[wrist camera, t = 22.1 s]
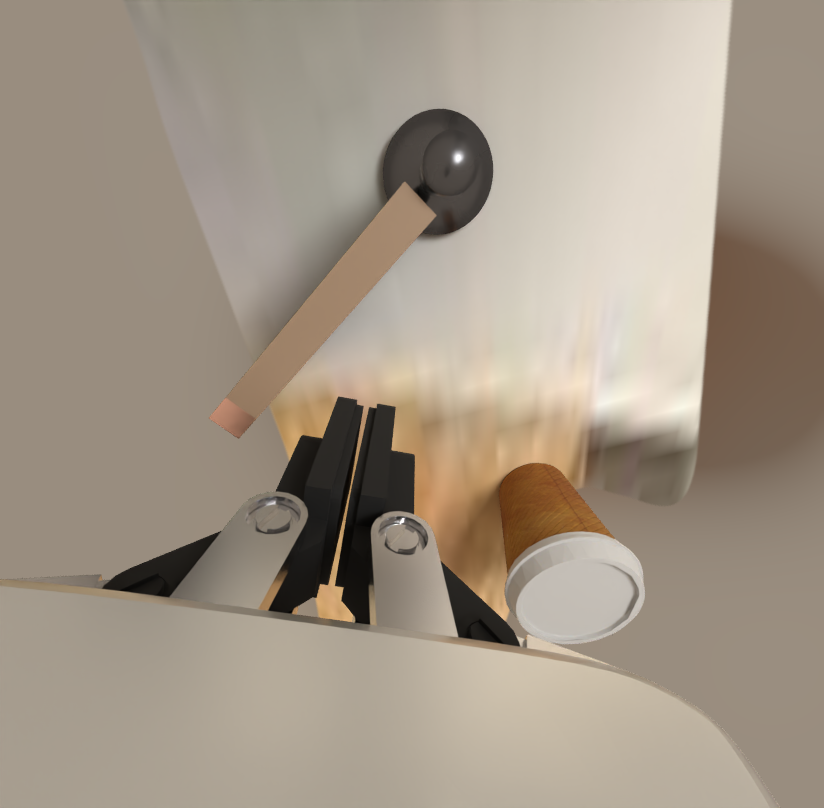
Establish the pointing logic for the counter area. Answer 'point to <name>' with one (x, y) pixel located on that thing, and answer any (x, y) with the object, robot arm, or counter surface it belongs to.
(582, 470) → the counter surface
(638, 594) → the disposable coffee cup
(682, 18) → the counter surface
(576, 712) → the robot arm
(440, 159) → the hinge post
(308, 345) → the bar
